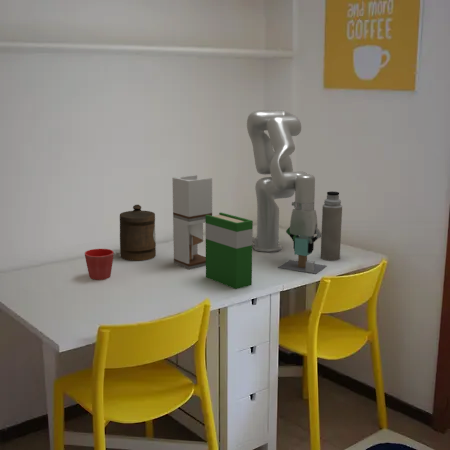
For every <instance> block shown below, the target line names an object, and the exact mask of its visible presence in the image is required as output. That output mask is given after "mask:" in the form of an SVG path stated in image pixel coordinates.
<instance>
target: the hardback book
mask: <svg viewBox="0 0 450 450" xmlns="http://www.w3.org/2000/svg"><path fill="white" fill-rule="evenodd" d="M253 223H254V220H251V219H249V218H248V219H247V218H244V217H241V216H240V217H239V216H237V215H232V214H229V213H225V212H219V213H218V214H217V215H212V216H210V215H206V222H205V257H206V266H205V278H206V279H209V280H211V281H215V283H220V284H221V285H224V286H227V287H230V288H232V289H235V290H238V289H243V288H245V287H246V288H247V287H250V286H252V285H253V280H252V279H253V242H252V237H253V233H254V231H253V230H254V229H253V228H254V225H253Z"/></svg>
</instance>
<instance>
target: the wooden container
mask: <svg viewBox="0 0 450 450" xmlns="http://www.w3.org/2000/svg"><path fill="white" fill-rule="evenodd" d="M132 209H133V210H128V211H123V212H121V213H120V214H119V255H120V258H121V259H122V260H126V261H130V262H131V261H132V262H133V261H134V262H137V261H138V262H139V261H141V262H143V261H149V260H152V259H153V258H155V257H156V254H157V247H156V246H157V245H156V243H157V241H156V238H157V237H156V214H155V212H153V211H150V210H142V206H141V205H140V204H134V205H133V207H132Z"/></svg>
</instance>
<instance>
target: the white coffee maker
mask: <svg viewBox="0 0 450 450" xmlns="http://www.w3.org/2000/svg"><path fill="white" fill-rule="evenodd" d="M206 215H210V216H213V177H209V178H199V179H198V175H197V174H193V175H185V176H184V175H183V176H177V177H172V225H173V226H172V228H173V229H172V232H173V233H172V237H173V264H175V265H177V266H179V267H182V268H184V269H187V270H193V269H199V268H202V267H206V256H203V255H201V254H198V252H199V249H198V245H199V244H200V243H203V242H204V223H205V224H206Z"/></svg>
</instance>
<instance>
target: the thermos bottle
mask: <svg viewBox="0 0 450 450" xmlns="http://www.w3.org/2000/svg"><path fill="white" fill-rule="evenodd" d="M339 198H340V192H338V191H327V192H326V198H325V199H324V201H323V203H324V204H322V209H321V210H322V213H321V214H322V215H321V234H322V236H321V237H320V238H321V239H320V259H322V260H324V261H331V262H332V261H333V262H334V261H339V260H340V259H341V239H342V238H341V237H342V220H343V219H342V217H343V205H342V201H341V199H339Z"/></svg>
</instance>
